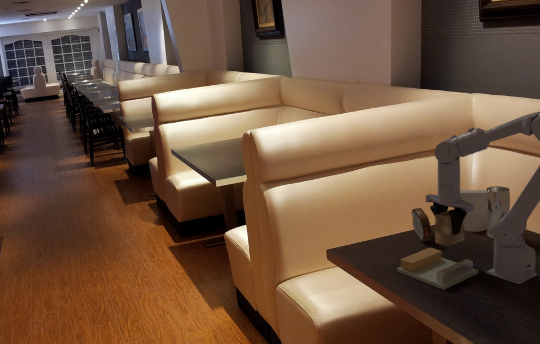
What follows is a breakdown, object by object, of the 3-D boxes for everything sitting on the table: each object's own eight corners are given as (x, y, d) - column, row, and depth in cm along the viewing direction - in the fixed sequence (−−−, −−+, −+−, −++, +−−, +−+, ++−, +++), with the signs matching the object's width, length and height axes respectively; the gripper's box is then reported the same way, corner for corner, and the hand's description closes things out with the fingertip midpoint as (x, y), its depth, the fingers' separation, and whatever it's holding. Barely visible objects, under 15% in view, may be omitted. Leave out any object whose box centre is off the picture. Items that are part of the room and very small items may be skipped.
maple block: (464, 239, 152) (464, 212, 150) (447, 246, 148) (447, 218, 146) (452, 236, 155) (452, 209, 153) (435, 242, 151) (435, 214, 150)
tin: (432, 245, 167) (432, 218, 165) (422, 245, 167) (421, 219, 165) (420, 228, 182) (420, 204, 180) (410, 229, 182) (410, 204, 180)
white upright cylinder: (459, 231, 176) (459, 195, 174) (457, 222, 185) (457, 187, 182) (489, 231, 174) (490, 195, 171) (486, 222, 183) (486, 187, 180)
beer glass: (480, 234, 173) (480, 188, 169) (498, 230, 174) (499, 184, 171) (495, 241, 166) (496, 193, 163) (514, 237, 168) (515, 189, 164)
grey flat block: (478, 273, 146) (478, 261, 145) (443, 289, 138) (443, 276, 137) (431, 257, 158) (431, 245, 157) (397, 271, 151) (396, 259, 150)
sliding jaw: (441, 259, 154) (441, 251, 153) (412, 271, 147) (412, 263, 147) (430, 255, 157) (430, 247, 156) (400, 267, 151) (400, 259, 150)
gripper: (481, 185, 144) (481, 234, 147) (437, 176, 156) (437, 222, 159) (464, 191, 140) (464, 241, 143) (420, 181, 152) (420, 228, 155)
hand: (449, 231), depth 151 cm, fingers closed on maple block, 4 cm apart
